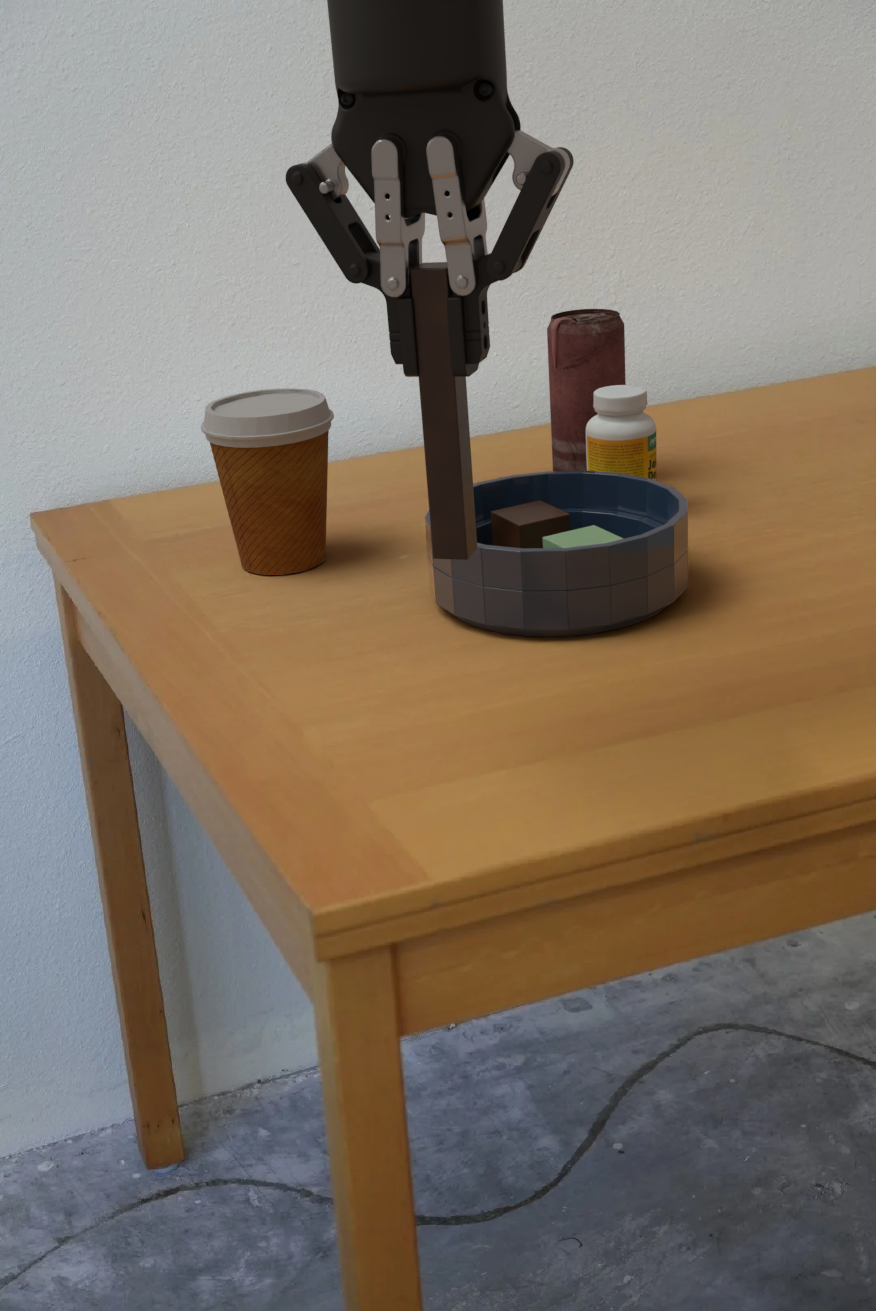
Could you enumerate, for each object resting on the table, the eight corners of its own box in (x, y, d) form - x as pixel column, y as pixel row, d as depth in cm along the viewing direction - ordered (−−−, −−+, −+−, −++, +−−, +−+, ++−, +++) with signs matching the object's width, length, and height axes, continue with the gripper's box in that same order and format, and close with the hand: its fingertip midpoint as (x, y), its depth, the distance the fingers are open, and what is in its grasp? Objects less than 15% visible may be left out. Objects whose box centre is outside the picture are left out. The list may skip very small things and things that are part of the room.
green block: (629, 598, 96) (627, 540, 94) (576, 612, 94) (574, 553, 93) (595, 581, 99) (594, 524, 98) (544, 594, 98) (541, 536, 96)
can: (536, 487, 123) (528, 317, 117) (588, 469, 126) (583, 303, 121) (590, 499, 118) (584, 324, 113) (642, 480, 122) (639, 310, 117)
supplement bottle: (585, 503, 118) (581, 384, 114) (653, 499, 117) (651, 379, 114) (590, 525, 113) (587, 401, 109) (661, 520, 112) (659, 396, 109)
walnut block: (572, 569, 102) (570, 513, 100) (521, 581, 100) (519, 525, 98) (542, 553, 105) (540, 499, 103) (493, 565, 103) (490, 511, 102)
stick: (477, 548, 74) (458, 261, 68) (467, 560, 72) (446, 267, 67) (443, 547, 74) (421, 262, 69) (432, 559, 73) (409, 268, 67)
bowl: (741, 601, 96) (742, 513, 94) (510, 664, 89) (505, 570, 87) (598, 534, 110) (596, 456, 108) (390, 584, 104) (383, 502, 101)
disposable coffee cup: (326, 532, 115) (311, 380, 111) (363, 568, 107) (348, 405, 102) (207, 554, 113) (186, 399, 108) (235, 592, 104) (214, 426, 100)
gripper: (228, -18, 62) (277, 392, 68) (547, -49, 57) (566, 392, 64) (298, -17, 68) (336, 357, 75) (590, -45, 64) (603, 355, 71)
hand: (442, 371), depth 70 cm, fingers closed on stick, 2 cm apart
